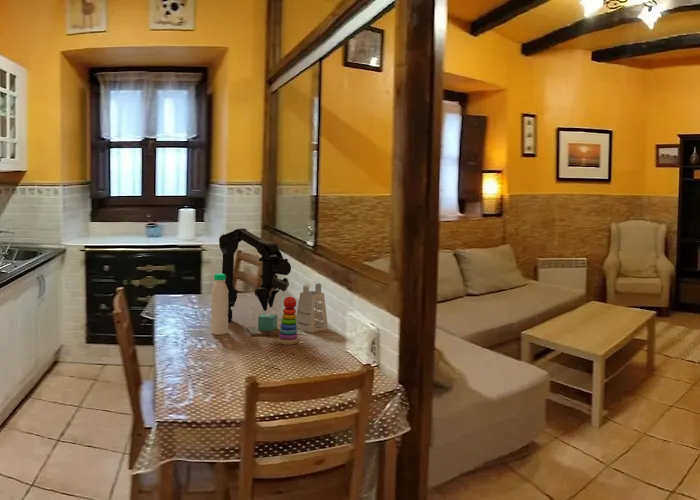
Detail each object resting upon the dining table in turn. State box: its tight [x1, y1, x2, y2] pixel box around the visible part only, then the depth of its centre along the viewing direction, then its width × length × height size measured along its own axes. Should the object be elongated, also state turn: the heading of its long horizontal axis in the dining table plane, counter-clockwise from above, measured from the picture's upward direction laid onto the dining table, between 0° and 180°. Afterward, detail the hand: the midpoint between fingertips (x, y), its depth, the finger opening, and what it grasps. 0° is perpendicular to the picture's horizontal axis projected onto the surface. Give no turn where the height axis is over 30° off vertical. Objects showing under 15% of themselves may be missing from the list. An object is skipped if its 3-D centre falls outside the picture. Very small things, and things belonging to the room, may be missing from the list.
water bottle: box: [210, 273, 229, 336], centre depth 259 cm, size 7×7×25 cm
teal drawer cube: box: [257, 313, 278, 332], centre depth 265 cm, size 6×6×6 cm
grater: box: [295, 282, 329, 333], centre depth 273 cm, size 10×10×20 cm
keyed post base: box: [245, 324, 281, 337], centre depth 265 cm, size 16×12×5 cm
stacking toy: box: [277, 296, 299, 346], centre depth 248 cm, size 8×8×19 cm
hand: (268, 308), depth 265 cm, fingers open, 8 cm apart
